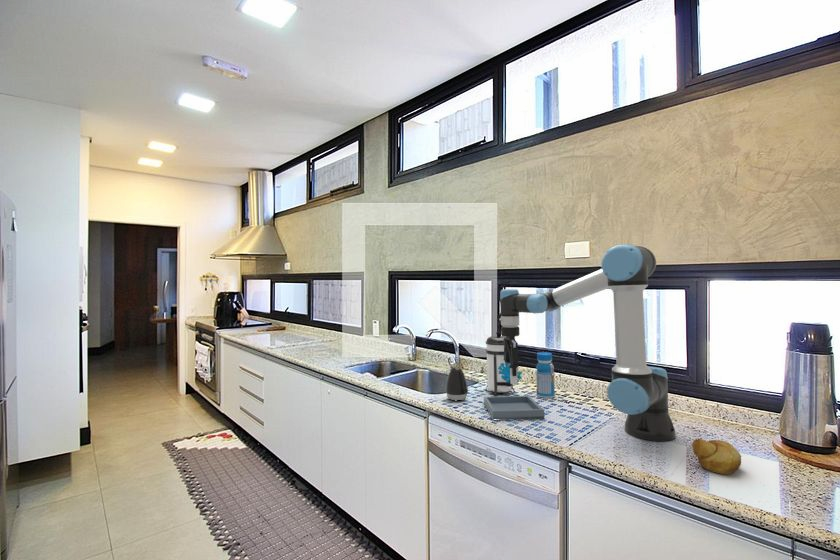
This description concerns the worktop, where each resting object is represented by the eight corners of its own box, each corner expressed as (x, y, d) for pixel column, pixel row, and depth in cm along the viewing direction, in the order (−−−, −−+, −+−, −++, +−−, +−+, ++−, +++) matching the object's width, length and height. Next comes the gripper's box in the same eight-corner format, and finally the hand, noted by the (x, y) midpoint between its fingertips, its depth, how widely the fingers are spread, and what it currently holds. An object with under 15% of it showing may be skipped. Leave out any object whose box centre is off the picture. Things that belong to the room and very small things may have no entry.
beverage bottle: (541, 399, 178) (540, 355, 179) (533, 394, 187) (532, 352, 187) (558, 397, 180) (557, 354, 180) (549, 393, 188) (548, 351, 188)
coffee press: (478, 394, 188) (476, 332, 189) (492, 387, 201) (490, 328, 202) (512, 399, 178) (511, 334, 179) (525, 391, 191) (523, 330, 192)
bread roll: (713, 456, 117) (712, 429, 117) (752, 469, 108) (751, 440, 108) (689, 466, 111) (688, 437, 111) (729, 480, 102) (728, 450, 102)
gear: (503, 381, 156) (496, 360, 163) (497, 389, 160) (491, 368, 167) (527, 382, 159) (519, 362, 167) (520, 390, 163) (513, 369, 170)
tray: (544, 419, 152) (544, 409, 152) (493, 420, 152) (492, 411, 152) (529, 403, 172) (529, 395, 172) (484, 404, 172) (483, 396, 172)
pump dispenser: (462, 395, 187) (461, 363, 187) (471, 401, 177) (471, 367, 177) (442, 397, 184) (441, 365, 184) (451, 404, 174) (450, 369, 174)
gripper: (495, 323, 173) (497, 375, 172) (506, 329, 152) (508, 387, 152) (512, 323, 173) (514, 375, 172) (526, 328, 152) (527, 387, 152)
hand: (511, 381), depth 162 cm, fingers closed on gear, 8 cm apart
